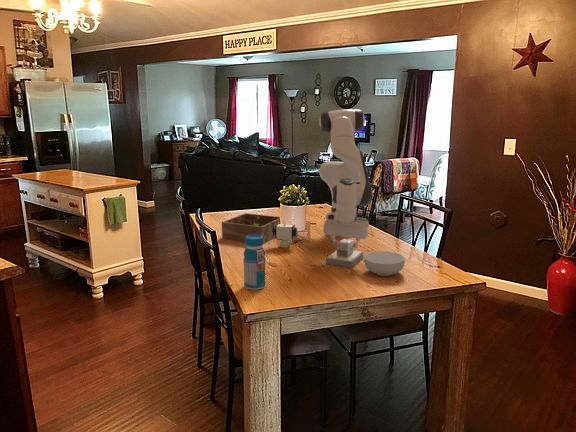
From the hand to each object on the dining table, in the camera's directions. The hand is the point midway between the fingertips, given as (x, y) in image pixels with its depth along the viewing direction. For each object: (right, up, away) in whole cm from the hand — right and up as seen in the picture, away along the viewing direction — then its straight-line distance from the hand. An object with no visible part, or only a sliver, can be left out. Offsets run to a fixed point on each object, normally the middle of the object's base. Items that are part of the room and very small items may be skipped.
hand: (345, 246), depth 213 cm
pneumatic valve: (-27, -2, +23) cm, 36 cm away
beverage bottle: (-39, -14, -29) cm, 50 cm away
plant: (-44, +2, +42) cm, 61 cm away
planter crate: (-44, +3, +42) cm, 61 cm away
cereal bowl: (+14, -11, -14) cm, 23 cm away
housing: (0, -4, +1) cm, 4 cm away
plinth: (0, -7, +1) cm, 7 cm away
